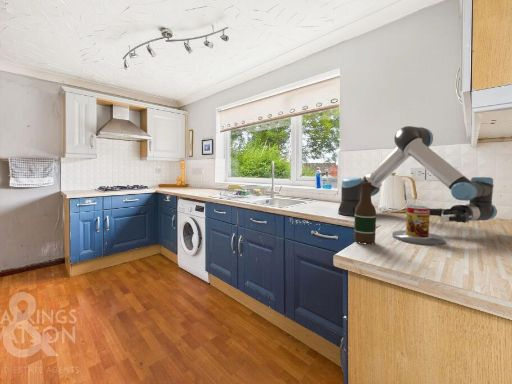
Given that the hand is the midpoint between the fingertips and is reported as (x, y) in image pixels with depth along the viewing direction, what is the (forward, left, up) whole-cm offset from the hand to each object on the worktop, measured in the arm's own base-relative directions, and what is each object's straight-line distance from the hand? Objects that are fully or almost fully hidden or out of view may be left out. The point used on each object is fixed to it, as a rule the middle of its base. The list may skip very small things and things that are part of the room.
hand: (425, 215), depth 104 cm
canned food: (-2, -3, -8) cm, 9 cm away
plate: (-2, -3, -9) cm, 10 cm away
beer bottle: (-16, -23, -10) cm, 30 cm away
